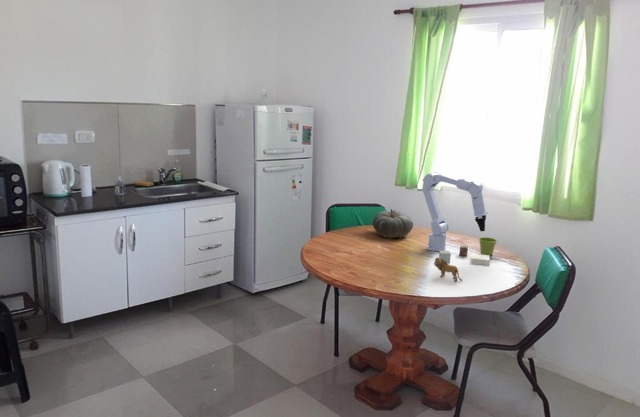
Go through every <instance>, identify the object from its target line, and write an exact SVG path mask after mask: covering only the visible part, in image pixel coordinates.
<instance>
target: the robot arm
mask: <svg viewBox="0 0 640 417" xmlns="http://www.w3.org/2000/svg"><path fill="white" fill-rule="evenodd" d="M422 182H423V185H422V193H423V196H424V199H425V202H426V205H427V208H428V211H429V214H430V217H431V222H430V225H431V232H432V233H429V234H428V244H427V246H428V247H427V250H428V251H433V252H439V251H447V247H446V242H447V241H446V240H447V232H448V231H449V224H448V223H447V222H446V219H445V218H444V217H443V216H442V214H441V211H440V208H439V205H438V201H437V199H436V196H435V193H434V189H435V187H436V186H437V185H438V184H440V183H442V182H443V183H446V184H450V185H452V186H453V185H454V186H456V188H457V189H459V190H462V191H465V192H467V193H469V194H470V197H471V203H472V209H473V216H474V217H475V218H474V220H475V222H476V224H477V227H478V228H479V231H480V232H485V231H486V219H487V215H486V214H489V212H488V211H486V209H485V202H484V197H483V193H482V192H483V189H484V188H483V184H481V183H480V182H478V181H477V182H474V181H473V180H468V179H466V178H465V177H461V178H454V177H451V176H449V175H447V174H443V173H441V172H438V171H437V172H436V171H435V172H433V173H427V174H425V175H424V177H423V179H422Z"/></svg>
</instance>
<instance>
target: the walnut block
mask: <svg viewBox="0 0 640 417" xmlns="http://www.w3.org/2000/svg"><path fill="white" fill-rule="evenodd" d="M468 250H469V247H468V245H460V246H459V256H460V257H464V258H466V257H468Z"/></svg>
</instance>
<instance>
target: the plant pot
mask: <svg viewBox="0 0 640 417" xmlns="http://www.w3.org/2000/svg"><path fill="white" fill-rule="evenodd" d="M478 240H479V246H480V254H481V255H489V257H491V256H493V253H494V249H495V245H496V244H497V239H496V238H493V237H487V236H486V237H479V238H478Z"/></svg>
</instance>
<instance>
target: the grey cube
mask: <svg viewBox="0 0 640 417" xmlns="http://www.w3.org/2000/svg"><path fill="white" fill-rule="evenodd" d="M451 256H452V254H451V252H450V250H445V251H438V258H441V259H443V260H444V261H446V262H447V264H448V263H451Z"/></svg>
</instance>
